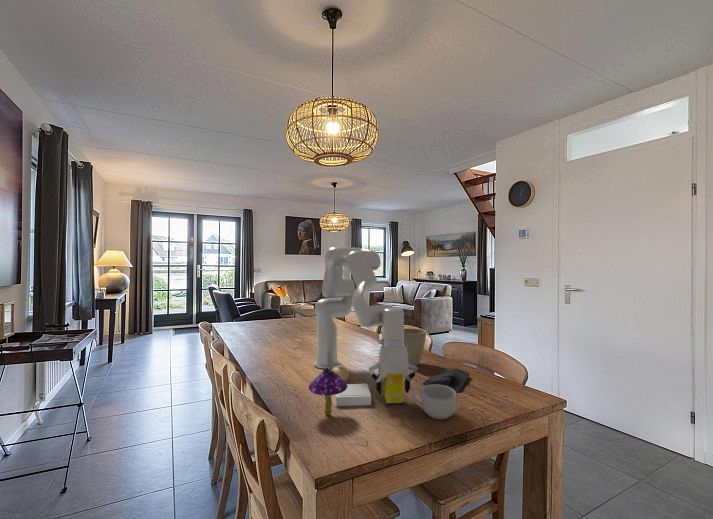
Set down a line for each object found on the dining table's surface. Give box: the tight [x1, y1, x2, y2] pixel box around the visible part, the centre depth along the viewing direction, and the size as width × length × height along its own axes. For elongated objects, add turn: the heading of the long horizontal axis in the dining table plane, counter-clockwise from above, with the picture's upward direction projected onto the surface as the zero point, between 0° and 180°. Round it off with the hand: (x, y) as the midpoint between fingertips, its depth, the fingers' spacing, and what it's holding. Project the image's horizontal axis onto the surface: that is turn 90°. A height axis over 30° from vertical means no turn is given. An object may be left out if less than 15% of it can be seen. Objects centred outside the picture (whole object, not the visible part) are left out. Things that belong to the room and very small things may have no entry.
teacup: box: [410, 384, 457, 420], centre depth 109 cm, size 14×11×8 cm
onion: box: [331, 364, 350, 383], centre depth 139 cm, size 8×8×7 cm
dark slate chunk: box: [422, 367, 470, 393], centre depth 139 cm, size 15×22×5 cm
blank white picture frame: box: [334, 383, 372, 407], centre depth 121 cm, size 12×12×3 cm
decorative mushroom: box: [308, 368, 347, 416], centre depth 109 cm, size 12×12×15 cm
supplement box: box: [383, 373, 404, 406], centre depth 119 cm, size 6×6×11 cm
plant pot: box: [404, 327, 427, 367], centre depth 163 cm, size 15×15×16 cm
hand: (393, 392), depth 118 cm, fingers open, 9 cm apart
